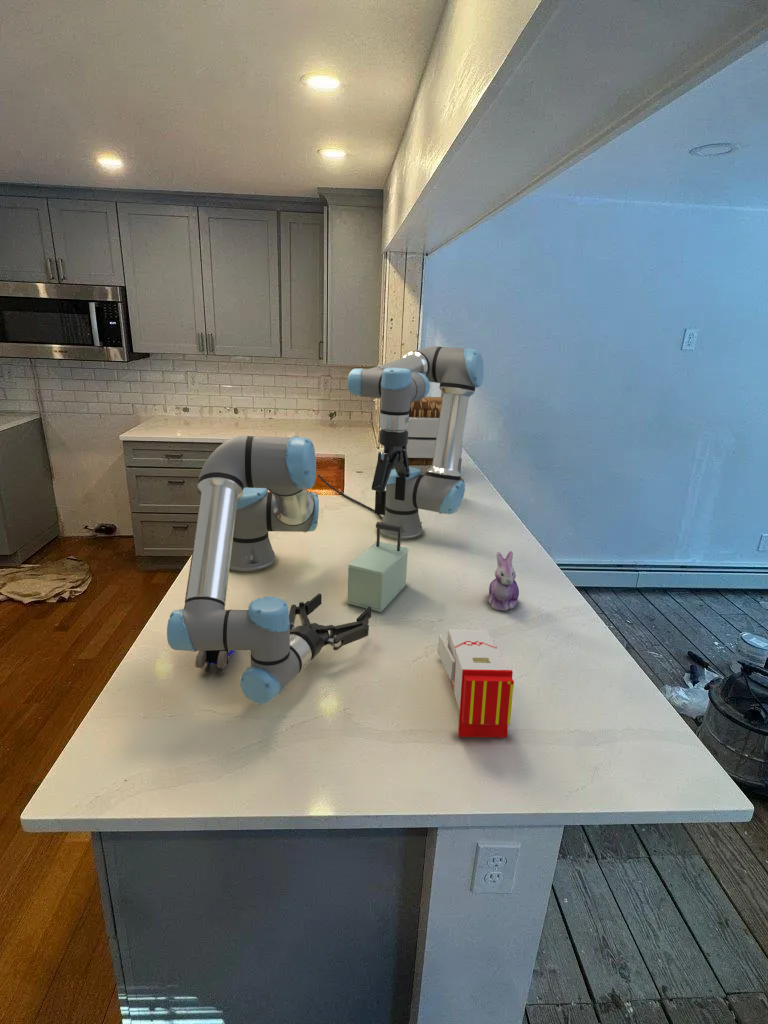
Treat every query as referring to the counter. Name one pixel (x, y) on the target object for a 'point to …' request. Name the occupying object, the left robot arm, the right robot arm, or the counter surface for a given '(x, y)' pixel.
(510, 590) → the figurine
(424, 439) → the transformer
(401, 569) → the chest
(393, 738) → the counter surface
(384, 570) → the lid
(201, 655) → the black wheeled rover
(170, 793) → the counter surface
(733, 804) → the counter surface
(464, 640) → the toy
